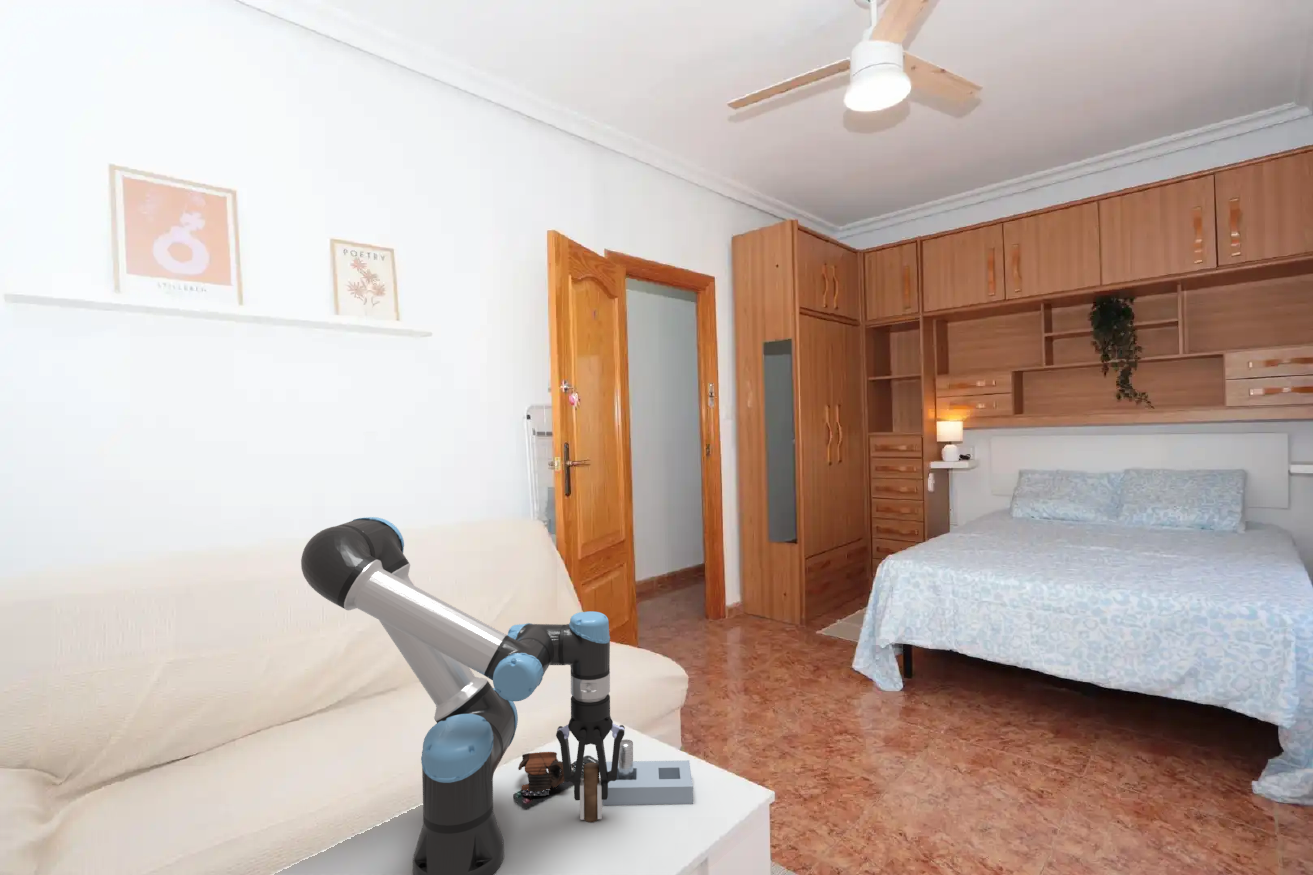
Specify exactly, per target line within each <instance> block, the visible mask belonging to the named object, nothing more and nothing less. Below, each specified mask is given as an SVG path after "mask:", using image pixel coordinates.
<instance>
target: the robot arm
mask: <svg viewBox="0 0 1313 875" xmlns="http://www.w3.org/2000/svg"><path fill="white" fill-rule="evenodd" d="M404 548H405V541H404V538H403V535H402V533H401V531H400V530H399V528H398V527H397V526H396V525H394V524H393V523H392V522H391V521H389V520H387V519H385V518H381V517H376V516H375V517H374V516H370V517H368V516H367V517H360V518H355V519H353V520H350V521H348V522H345V523H342V524H339V525H335V526H330V527H327V528H325V529H322V530H320V531H319V532H317V533H315V535H313V536H312V537H311V538H310V539H309V540H308V541H307V543H306V545H305V547H304V549H303V551H302V555H301V559H300V564H301V566H300V567H301V572H302V575H303V577H304V579H305V580H306V582H307V583H308V586H309V587H311V589H312V590H314V591H315V592H316V593H318V594H319V595H320V597H323V598H324V599H326V600H327V601H329V602H331V603H332V604H334V605H336V606H339V607H341V608H342V609H344V610H346V611H351V610H356V609H358V610H360V611H361V612H364V613H365V614H367V615H370V616H371V617H373V618H375V619H377V620H379V623H380V624H381V625H382V627H383V629H384V630H385V631H386V633H387V635H388V636H389V637H390V639H391V640H392V642H393V643H394V645H395V646H396V648H397V649H398V651H399V652H400V654H401V655H402V657H403V658H404V660H405V661H406V663H407V664H408V666H409V667H410V669H411V670H412V672H413V673H414V674H415V676H416V678H417V679H418V681H419V682H420V684H421V685H422V687H423V688H424V690H425V691H426V693H427V694H428V695H429V697H430V699H431V700H432V701H433V704H434V705H435V712H434V716H433V718H434V720H435V722H436V723H435V724H434V725H433V726H432V727H430V729H429V730H428V731H427V733H426V734H425V735H424V736H425V737H424V738H423V741H422V742H423V743H422V751H421V756H420V757H421V758H420V763H421V771H422V772H421V774H422V775H421V777H422V812H423V813H422V814H423V816H422V818H423V819H422V826H421V830H420V832H419V836H418V840H417V842H416V846H415V849H414V851H413V857H412V875H494V874H495V873H496V872H497V871H498V869H499V868H500V867H501V865H502V863H503V860H504V856H505V850H504V849H505V846H504V845H505V844H504V843H505V842H504V838H503V837H504V836H503V835H502V832H501V829H500V826H499V824H498V820H497V818H496V816H495V812H494V783H493V782H494V773H495V772H496V769H497V768H498V766H499V764H500V762H502V759H503V756H504V755H505V753H506V751H507V750H508V748H509V747H510V746H511V745H512V742H513V741H514V738H515V735H516V734H515V733H516V732H517V727H518V722H519V716H518V710H517V707H516V705H515V702H521V701H525V700H526V699H528V698H529V697H530V696H531V695H532V694H533V693H534V692H535V691H536V689H537V687H539V686H540V685H541V683H542V681H543V679H544V678H543V677H544V675H545V673H546V671H547V670H548V669H549V666H570V694H571V697H570V719H569V721H568V724H566V725H564V726H561V725H560V726H558V727H557V729H556V730H557V731H556V733H555V737H556V738H557V740H558V742H559V746H560V752H561V755H560V756H561V762H562V763H563V772H564V780H565V781H564V782H566V783H569V782H570V783H572V784H573V793H574V794H573V795H574V796H573V798H574V801H579V820H584V777H583V778H582V772H583V771H582V770H583V767H584V765H583V764H584V757H585V748H586V746H588V745H594V746H595V751H596V756H597V757H596V758H597V762H598V763H597V764H598V765H599V783H598V785H597V805H598V819H599V820H602V819H603V818H602V817H603V800H607V797H608V783H609V782H610V781H616V779H617V770H618V762H619V751H620V743H621V741H622V740H624V737H625V731H626V730H625V728H626V727H625V726H624V725H623V724H620V725H617V724H616V723H614V722H613V719H612V717H611V695H610V692H611V671H610V670H611V666H610V664H611V661H610V660H611V658H610V656H611V654H610V652H611V649H610V647H611V635H610V626H609V625H610V623H609V622H610V621H609V618H608V617H607V615H606V614H604V613H602V612H600V611H592V610H591V611H580V612H577V613H574V614H573V615H572V616H571V617H570V620H569V621H570V622H569V623H566V624H558V623H556V624H549V623H545V624H544V623H543V624H542V623H529V622H527V623H522V624H520V623H519V624H514V625H512V626H511V627H510V628H509V629H508V630H507V631H508V632H507V634H506V633H504V632H502V631H500V630H498V629H496V628H495V627H492V626H490V625H489V624H487V623H485V622H483V621H482V620H480V619H477V618H476V617H473V616H472V615H470V614H469V613H466V612H464V611H463V610H461V609H459V608H457V607H455V606H453V605H451V604H450V603H447V602H445V601H444V600H442V599H440V598H438V597H436V596H435V595H432V594H430V593H429V592H427V591H425V590H423V589H421V588H420V587H417V586H416V585H415V584H414V583H413V581H412V580H411V579H410V577H409V572H410V568H411V563H410V562H409V560H408V558H407V557H406V556H405V554H404ZM472 670H473V671H476V672H477V673H479V674H481V675H483V676H485V677H486V678H484V677H477V676H475V674H474V673H473V671H472ZM488 679H490V680H491V681H492V684H493V686H492V685H491V683H490V681H489V680H488ZM610 732H612V734H611V735H612V738H614V739H613V747H612V748H613V750H612V757H611V758H612V759H611V762H612V767H611V771H609V772H608V771H607V764H606V762H607V759H606V752H605V751H606V750H605V746H604V741H605V738H606V737H607V736H608V734H609V733H610ZM570 733H571V734H572V736H573V737H574V738H575V739H576V741H577V742H578V745H577V746H578V747H577V755H576V762H575V768H574V770H575V771H573V769H572V761H571V760H572V759H571V752H570V743H569V737H570ZM584 821H585V820H584Z"/></svg>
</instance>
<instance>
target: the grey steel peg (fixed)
mask: <svg viewBox="0 0 1313 875" xmlns="http://www.w3.org/2000/svg"><path fill="white" fill-rule="evenodd" d="M633 761H634V742H633V740H632V739H631V740H630V739H628V738H627V739H622V741H621V743H620V751H619V761H618V762H619V780H633Z"/></svg>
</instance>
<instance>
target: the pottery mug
mask: <svg viewBox="0 0 1313 875" xmlns="http://www.w3.org/2000/svg"><path fill="white" fill-rule="evenodd" d="M557 755H558V753H557V752H555V751H539V752H528V753H524V754H523V753H522V756H521V758H522V760H521V761H520V763H519V765H518V768H517V769H518V771H521V770H522V769H523V768H524V772H525V773H526V774H527V779H528V783H526V784H522V785H521V791H522V790H527V789H528V791H533V792H535V791H536V792H537V791H543V790H546V789H550V788H551V789H552V788H553V789H554V787H557V786H558V785H559V786H560V785H562V784H563V783H564V782H566V781H565V780H564V772H563V763H562V760H560V761H559V760H558V758H557ZM559 786H558V787H559ZM558 787H557V788H558ZM551 789H550V790H551Z"/></svg>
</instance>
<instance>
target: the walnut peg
mask: <svg viewBox="0 0 1313 875" xmlns="http://www.w3.org/2000/svg"><path fill="white" fill-rule="evenodd" d="M583 778H584V821H585V822H587V823H596V822H597V821H599V820H600V819H598V805H597V785H598V783H599V778H600V771H599V764H598V763H597V762H588V763H585V764H584V765H583Z"/></svg>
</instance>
